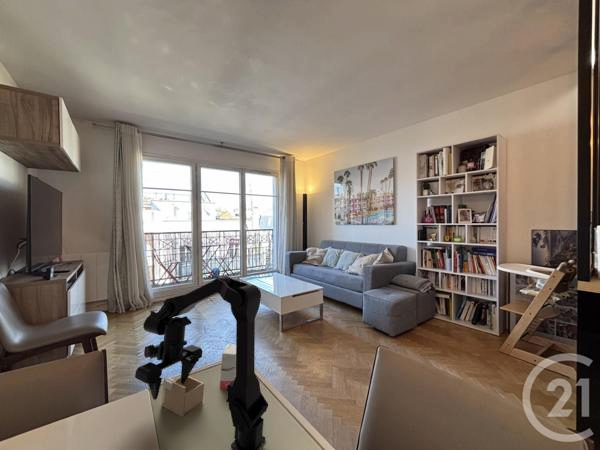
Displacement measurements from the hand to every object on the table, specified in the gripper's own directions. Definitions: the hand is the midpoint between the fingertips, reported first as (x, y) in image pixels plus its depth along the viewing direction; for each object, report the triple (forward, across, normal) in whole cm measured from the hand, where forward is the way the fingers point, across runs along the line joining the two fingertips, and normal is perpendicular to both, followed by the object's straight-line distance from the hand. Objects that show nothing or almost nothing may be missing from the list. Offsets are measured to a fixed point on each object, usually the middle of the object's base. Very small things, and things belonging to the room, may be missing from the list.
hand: (169, 390), depth 75 cm
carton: (+5, -4, +2) cm, 7 cm away
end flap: (+5, 0, +2) cm, 5 cm away
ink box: (+6, -20, +6) cm, 22 cm away
